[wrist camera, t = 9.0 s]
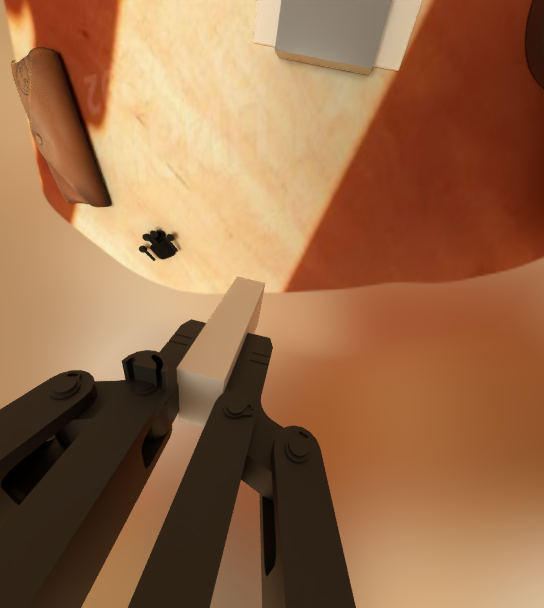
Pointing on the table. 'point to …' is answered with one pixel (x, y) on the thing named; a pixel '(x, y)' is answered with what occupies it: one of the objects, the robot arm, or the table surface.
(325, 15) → the slate tile
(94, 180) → the sunglasses case
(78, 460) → the robot arm
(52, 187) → the table surface
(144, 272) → the table surface
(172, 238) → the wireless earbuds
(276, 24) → the felt mat
